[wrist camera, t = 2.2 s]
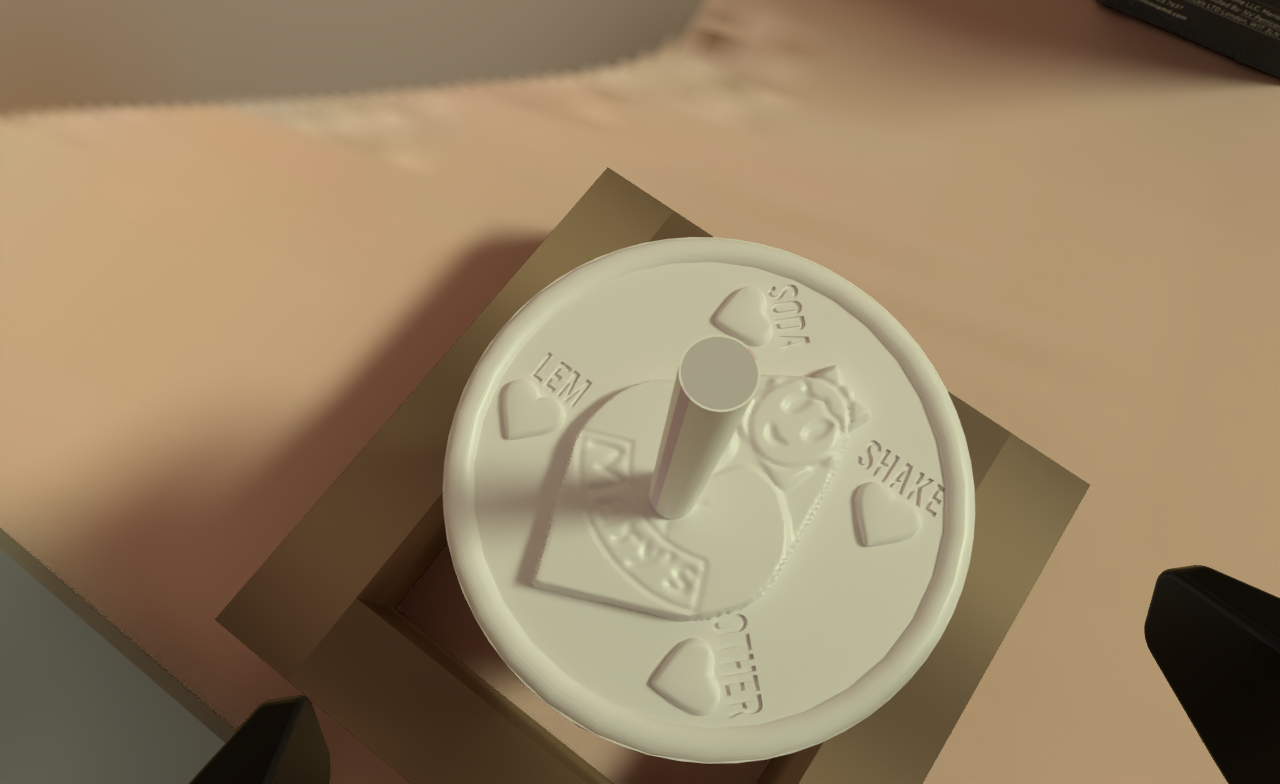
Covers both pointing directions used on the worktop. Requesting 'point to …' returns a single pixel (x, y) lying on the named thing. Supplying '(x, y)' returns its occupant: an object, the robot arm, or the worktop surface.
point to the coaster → (87, 693)
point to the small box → (1218, 26)
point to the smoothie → (708, 500)
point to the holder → (415, 534)
